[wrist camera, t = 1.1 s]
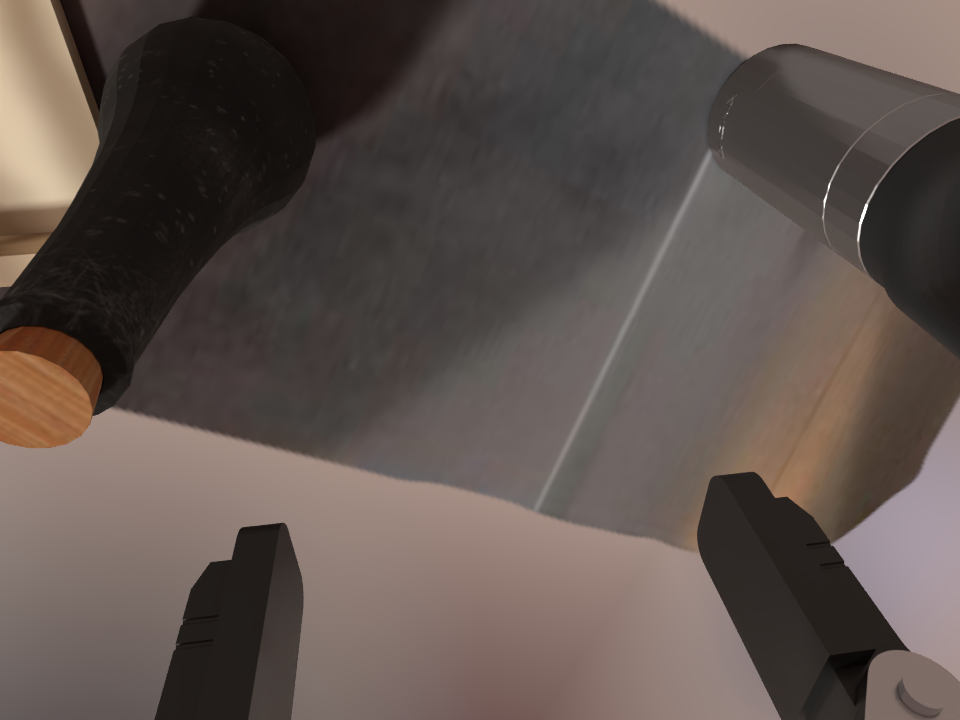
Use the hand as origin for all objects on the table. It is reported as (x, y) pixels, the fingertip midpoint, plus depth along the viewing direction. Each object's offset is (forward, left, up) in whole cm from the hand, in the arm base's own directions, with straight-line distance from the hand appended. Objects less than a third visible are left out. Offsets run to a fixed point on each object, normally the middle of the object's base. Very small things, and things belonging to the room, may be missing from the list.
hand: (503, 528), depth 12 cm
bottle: (+11, 0, -36) cm, 38 cm away
